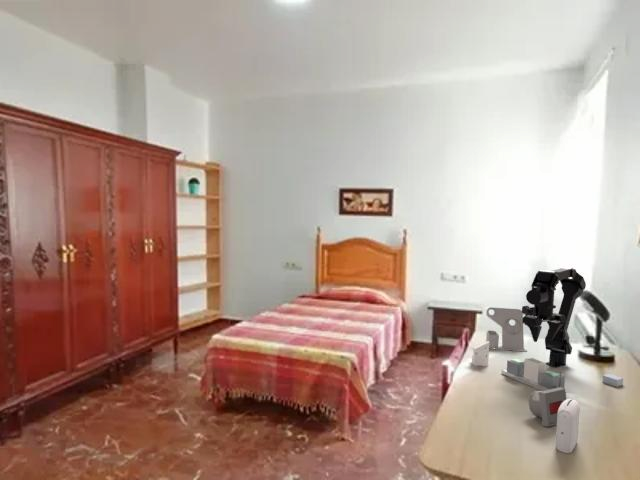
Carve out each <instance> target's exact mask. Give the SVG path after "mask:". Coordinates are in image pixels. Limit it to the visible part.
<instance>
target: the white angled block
mask: <svg viewBox="0 0 640 480" xmlns="http://www.w3.org/2000/svg"><path fill="white" fill-rule="evenodd" d="M489 356H490V349H489V341H487V342H486V341H485V342H483V343H481V344H478V345H477V346H475V347H473V353H472V356H471V363H472V365H474V366H483V367H488V366H489V358H490V357H489Z"/></svg>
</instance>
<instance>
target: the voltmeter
mask: <svg viewBox="0 0 640 480" xmlns="http://www.w3.org/2000/svg"><path fill="white" fill-rule="evenodd" d="M559 374H562V373H561V372H559ZM564 388H565V387H564ZM564 388H561V387H560V383H559V387H558V388H554V389H549V390H545V391H541V390H534V391H533V392H532V393H529V399H528V407H529V410H530V412H531V414H532V415H533V416H535V417H537V418H541V420H540V423H542V427H551V426H557V414H558V409H559V407H560V405H561V404H562V402H563V401H565V400H566V399H567V393H566V392H567V391H566V388H565V389H564Z"/></svg>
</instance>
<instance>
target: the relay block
mask: <svg viewBox="0 0 640 480" xmlns="http://www.w3.org/2000/svg"><path fill="white" fill-rule="evenodd" d="M602 383H604V384H606V385H610V386H612V387H616V388H617V387H621V386H623V385H624V378H623V377H621V376H617V375H614V374H611V373H607V374H603V375H602Z"/></svg>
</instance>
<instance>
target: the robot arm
mask: <svg viewBox="0 0 640 480" xmlns="http://www.w3.org/2000/svg"><path fill="white" fill-rule="evenodd" d="M558 284H561V291H562V293H563V297H562V300H561V303H560V307H559V309H558V313H557V312H554V309H556V307H557V305H555V304H554V302H555V301H554V300H555V291H556V290H557V288H556V287H557V285H558ZM586 285H587V283H586V280H585V278H584V277H583V276H582V275H581V274H580V273H578V272H577V270H576V269H575V268H573V267H566V266H563V267H561V268H558V269H557V268H556V269H553V270H544V269H539V270H538V271H537V272H536V273H535V276H534V278H533V281H532V284H531V289H530V290H529V291H528V292H527V293H526V295H525V297H526V301H527V302H528V303H529V305H532V307H530V306H529V305H524V306H522V308H521V311H522V313H523V319H522V323H523V325H525V326H527V328H529V331H530V334H531V337H532V340H533V342H534V343H537V342H538V340H539V337H540V334H541V331H542V329H543V327H542V324H543V323H547V324H548V329H547V333H546V336H544V344H545V350H546V351H547V350H549V357H548V362H545V363H546V365H548V366H551V367H554V368H560V367H561V368H562V367H564V366H567V355H571V354H572V351H573V346H572V345H571V343H570V336H569V333H568V328H569V326H570V321H571V317H572V314H573V312H574V307H575V306H576V300H577V299H578V298H580V297H581V296H582V295H583V293H584V290H585V289H586V287H587V286H586Z"/></svg>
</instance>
